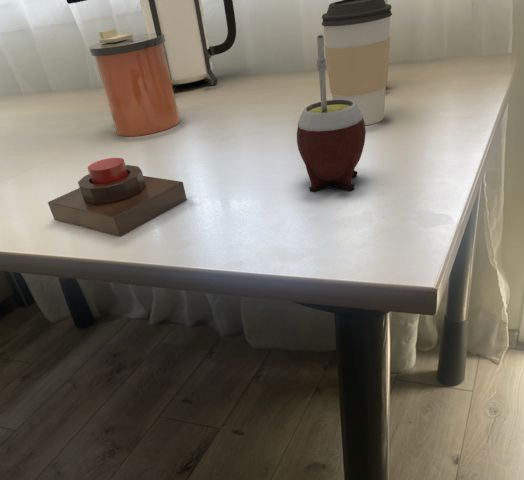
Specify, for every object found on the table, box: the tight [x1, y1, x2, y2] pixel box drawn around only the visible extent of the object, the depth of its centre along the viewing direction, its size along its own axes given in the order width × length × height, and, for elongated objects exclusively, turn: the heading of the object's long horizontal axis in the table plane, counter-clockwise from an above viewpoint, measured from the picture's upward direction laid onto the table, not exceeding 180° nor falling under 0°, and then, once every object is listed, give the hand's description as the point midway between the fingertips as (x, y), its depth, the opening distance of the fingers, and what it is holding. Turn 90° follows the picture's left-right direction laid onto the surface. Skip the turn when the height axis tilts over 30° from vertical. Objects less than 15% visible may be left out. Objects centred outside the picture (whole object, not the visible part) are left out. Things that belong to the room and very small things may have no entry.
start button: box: [87, 157, 128, 184], centre depth 58 cm, size 4×4×2 cm
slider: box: [98, 28, 133, 43], centre depth 85 cm, size 4×4×2 cm
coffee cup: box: [321, 0, 393, 127], centre depth 72 cm, size 9×9×15 cm
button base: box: [47, 164, 188, 238], centre depth 60 cm, size 12×10×4 cm
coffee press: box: [139, 0, 237, 93], centre depth 108 cm, size 17×16×30 cm
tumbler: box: [88, 33, 181, 137], centre depth 88 cm, size 12×12×13 cm
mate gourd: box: [296, 34, 367, 193], centre depth 53 cm, size 8×8×15 cm
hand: (78, 1), depth 86 cm, fingers closed
